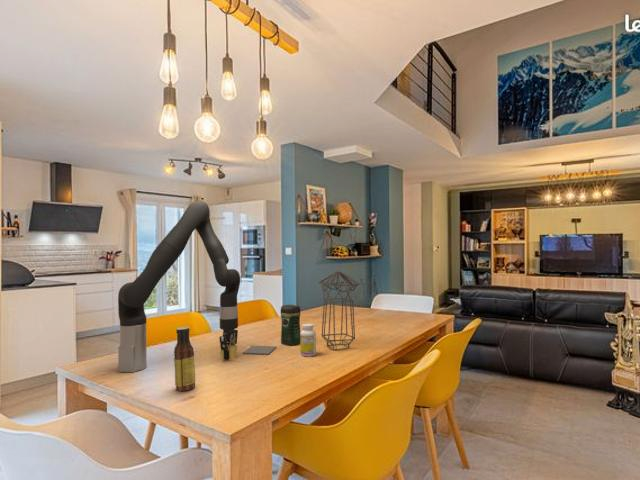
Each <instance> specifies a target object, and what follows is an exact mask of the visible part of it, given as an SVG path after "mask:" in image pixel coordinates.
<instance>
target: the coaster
mask: <svg viewBox="0 0 640 480" xmlns="http://www.w3.org/2000/svg"><path fill="white" fill-rule="evenodd" d="M275 349H277V345H276V346H274V345H251V346H250V347H248V348H246V349H245V350H244V351H242V353H241V354H242V355H256V356H257V355H259V356H261V355H263V356H266V355H267V356H268V355H270V354H271V353H272V352H274V351H275Z"/></svg>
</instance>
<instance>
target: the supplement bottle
mask: <svg viewBox="0 0 640 480" xmlns="http://www.w3.org/2000/svg"><path fill="white" fill-rule="evenodd" d="M301 328H302V330H300V344H299V345H300V355H301V356H302V357H308V358H309V357H314V356H316V354H317V340H316V339H317V337H316V335H317V334H316V331H315V330H314V324H313V323H304V324H302V326H301Z"/></svg>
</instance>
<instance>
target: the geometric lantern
mask: <svg viewBox="0 0 640 480" xmlns="http://www.w3.org/2000/svg"><path fill="white" fill-rule="evenodd" d="M340 279H341V280H340ZM317 283H318V284H319V285H320V288H321V289H322V291H323V292H325V293H326V296H327V297H326V298H325V294H323V310H322V311H323V312H322V326H321V337H322V338H323V339H324V341H325V342H326V347H327V348H328V349H330V350H332V351H340V350H348V349H350V344H351V343H352V342H353V341H354V340H355V339H356V330H355V328H356V327H355V310H354V306H355V305H354V299H353V298H352V297H353V292H355V289H356V288H357V287H358V286H359V285H360V283H359V282H357V281H356V280H355V279H354V278H351V277H350V276H348V275H347V274H346V273H344V272H342V271H339V270H336V271H334V272H333V273H332V274H330V275H328V276H327V277H325V278H323V279H321V280H320V281H319V282H317ZM332 286H333V288H332ZM342 287H345V288H346V289H345V290H342ZM339 288H340V289H339ZM328 289H329V291H327V290H328ZM331 290H334V291H336V292H337V294H336V295H335V297H333V299H331V297H330V296H329V295H330V294H331V293H330V292H331ZM340 293H347V295H346V297H345V298H343V296H342V295H341V294H340ZM338 295H339V296H340V298H338V297H337V296H338ZM338 300H339V301H338ZM328 302H329V312H328V313H329V314H328V315H329V317H328V319H329V320H328V332H327V333H328V334H326V324H327V323H326V322H327V309H328ZM347 302H348V303H349V308H350V325H351V335H350V334H348V313H347V312H348V311H347V310H348V309H347ZM332 303H333V304H332ZM335 303H341V318H340V319H341V322H340V324H341V325H340V327H341V328H340V332H339V333H336V326H335V325H336V323H335V318H336V317H335V311H336V310H335ZM344 305H345V306H344ZM332 307H333V309H332ZM344 307H345V308H344ZM344 309H345V326H346V327H345V330H346V332H345V333H343V315H344V313H343V312H344ZM332 310H333V312H332ZM331 312H332V313H331ZM331 314H333V320H332V321H333V333H331V332H330V331H331V318H332V317H331ZM339 335H340V338H339V339H336V336H339ZM342 335H343V336H344V337H343V339H342ZM326 336H328V338H327V337H326ZM330 336H333V339H330ZM347 336H348V337H350V338H349V339H348V338H347V339H346V337H347ZM348 341H350V342H348ZM333 342H334V343H333ZM336 342H341V343H336ZM329 344H330V345H329ZM337 346H344V347H345V348H335V347H337ZM332 347H333V348H332Z"/></svg>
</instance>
